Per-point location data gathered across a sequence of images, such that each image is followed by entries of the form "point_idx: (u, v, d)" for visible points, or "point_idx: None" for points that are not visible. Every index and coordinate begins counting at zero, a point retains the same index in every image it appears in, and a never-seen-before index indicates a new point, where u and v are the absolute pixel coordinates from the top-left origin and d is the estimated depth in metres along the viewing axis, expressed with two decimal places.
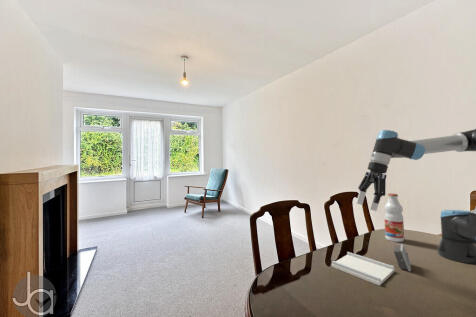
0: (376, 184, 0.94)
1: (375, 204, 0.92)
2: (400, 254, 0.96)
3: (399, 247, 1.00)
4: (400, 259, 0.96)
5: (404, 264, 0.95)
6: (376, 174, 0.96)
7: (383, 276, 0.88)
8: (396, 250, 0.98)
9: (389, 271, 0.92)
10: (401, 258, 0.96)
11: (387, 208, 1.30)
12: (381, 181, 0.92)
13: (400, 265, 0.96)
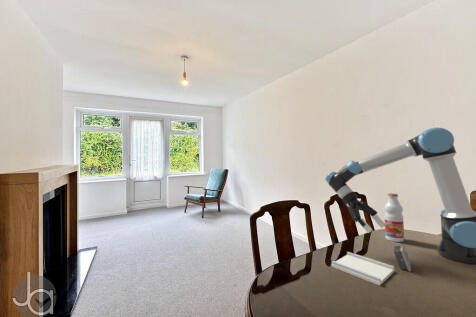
0: None
1: (366, 226, 1.05)
2: (400, 254, 0.96)
3: (399, 247, 1.00)
4: (400, 259, 0.96)
5: (404, 264, 0.95)
6: None
7: (383, 276, 0.88)
8: (396, 250, 0.98)
9: (389, 271, 0.92)
10: (401, 258, 0.96)
11: (387, 208, 1.30)
12: (349, 210, 1.11)
13: (400, 265, 0.96)
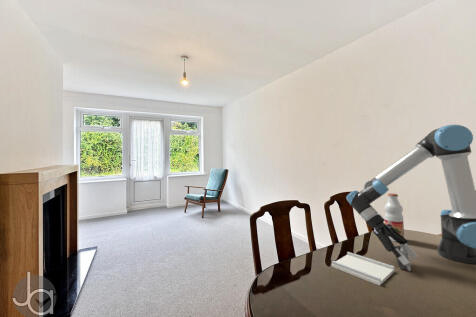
0: None
1: (401, 257, 0.94)
2: None
3: (399, 247, 1.00)
4: None
5: None
6: None
7: (383, 276, 0.88)
8: None
9: (389, 271, 0.92)
10: None
11: (387, 208, 1.30)
12: (379, 237, 1.00)
13: (400, 265, 0.96)
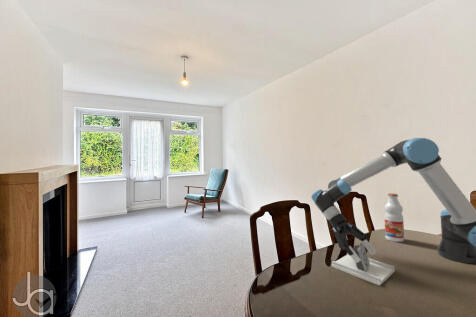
0: (341, 238, 1.00)
1: (353, 255, 0.93)
2: (357, 254, 0.95)
3: (358, 246, 0.99)
4: None
5: (361, 264, 0.94)
6: None
7: (383, 276, 0.88)
8: (354, 249, 0.97)
9: (389, 271, 0.92)
10: None
11: (387, 208, 1.30)
12: (336, 235, 0.99)
13: (357, 265, 0.95)
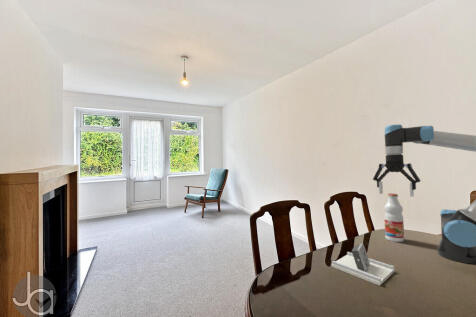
0: None
1: None
2: (357, 254, 0.95)
3: (358, 246, 0.99)
4: (357, 259, 0.95)
5: (361, 264, 0.94)
6: None
7: (383, 276, 0.88)
8: (354, 249, 0.97)
9: (389, 271, 0.92)
10: (358, 258, 0.94)
11: (387, 208, 1.30)
12: None
13: (357, 265, 0.95)
